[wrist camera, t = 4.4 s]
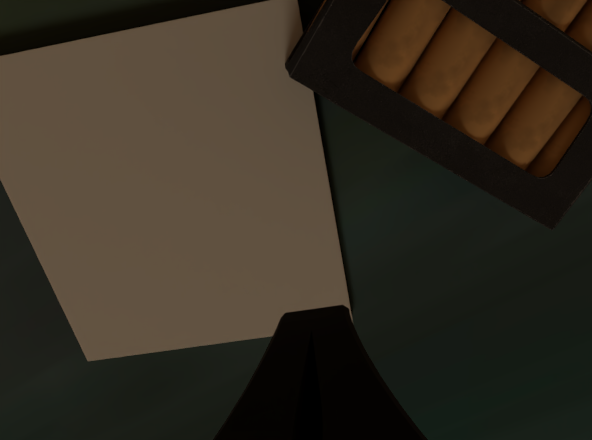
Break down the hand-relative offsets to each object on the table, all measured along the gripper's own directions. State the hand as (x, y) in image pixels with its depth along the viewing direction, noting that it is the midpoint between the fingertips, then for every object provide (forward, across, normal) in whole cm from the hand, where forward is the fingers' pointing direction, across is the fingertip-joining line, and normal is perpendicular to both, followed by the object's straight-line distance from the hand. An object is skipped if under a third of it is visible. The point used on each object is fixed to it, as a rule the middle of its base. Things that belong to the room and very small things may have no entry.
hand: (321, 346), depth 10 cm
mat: (+9, +6, 0) cm, 11 cm away
